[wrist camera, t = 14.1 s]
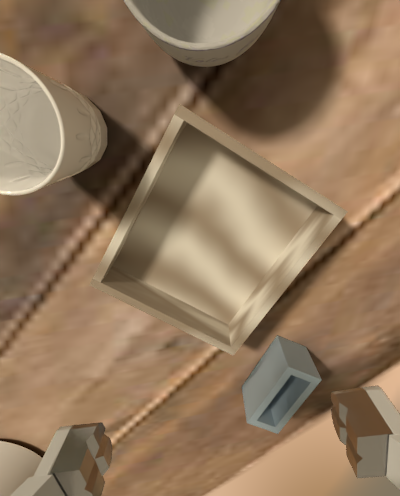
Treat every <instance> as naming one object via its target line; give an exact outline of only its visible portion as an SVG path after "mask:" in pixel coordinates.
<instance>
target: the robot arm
mask: <svg viewBox="0 0 400 496" xmlns="http://www.w3.org/2000/svg"><path fill="white" fill-rule="evenodd" d="M331 401H332V403H333V405H334V407H333V408H332V409H331V412H332V419H333V424H334V427H335V430H336V432H337V435H338V437H339V439H340V441H341V442H342V443H344V444H345V445H346V448H347V449H346V450H347V457H348V459H349V462H350V464H351V466H352V468H353V470H354V472H355V474H356V477H357V478H364V477H377V476H386V478H387V479H388V480H389V481H391V482H392V483H393V484H394V485H395V486H396V487H397V488H398V489H399V490H400V413H399V412H398V411H397V410H396V408H395V406H394V405H393V404H392V402H391V401H390V400H389V398H388V397H387V395H386V394H385V393H384V391H383V390H382V389H381V388H380V387H379V386H371V387H363V388H354V389H347V390H340V391H333V392H332V393H331ZM104 432H105V427H104V425H103V423H91V424H81V425H72V426H63V427H60V428H59V429H58V430H57V431H56V433H55V435H54V437H53V439H52V441H51V443H50V445H49V447H48V448H47V450H46V452H45V454H44V456H43V458H42V457H40V456H39V455H38V454H36V453H35V452H33V451H31V450H29V449H27V448H25V447H22V446H20V445H17V444H13V443H9V442H3V441H0V496H101V494H102V491H103V487H104V484H105V481H104V478H103V475H104V473H105V472H106V471H107V470H108V469H109V466H110V463H111V459H112V444H111V440H110V438H109V437H108V436H106V435H105V434H104Z"/></svg>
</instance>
